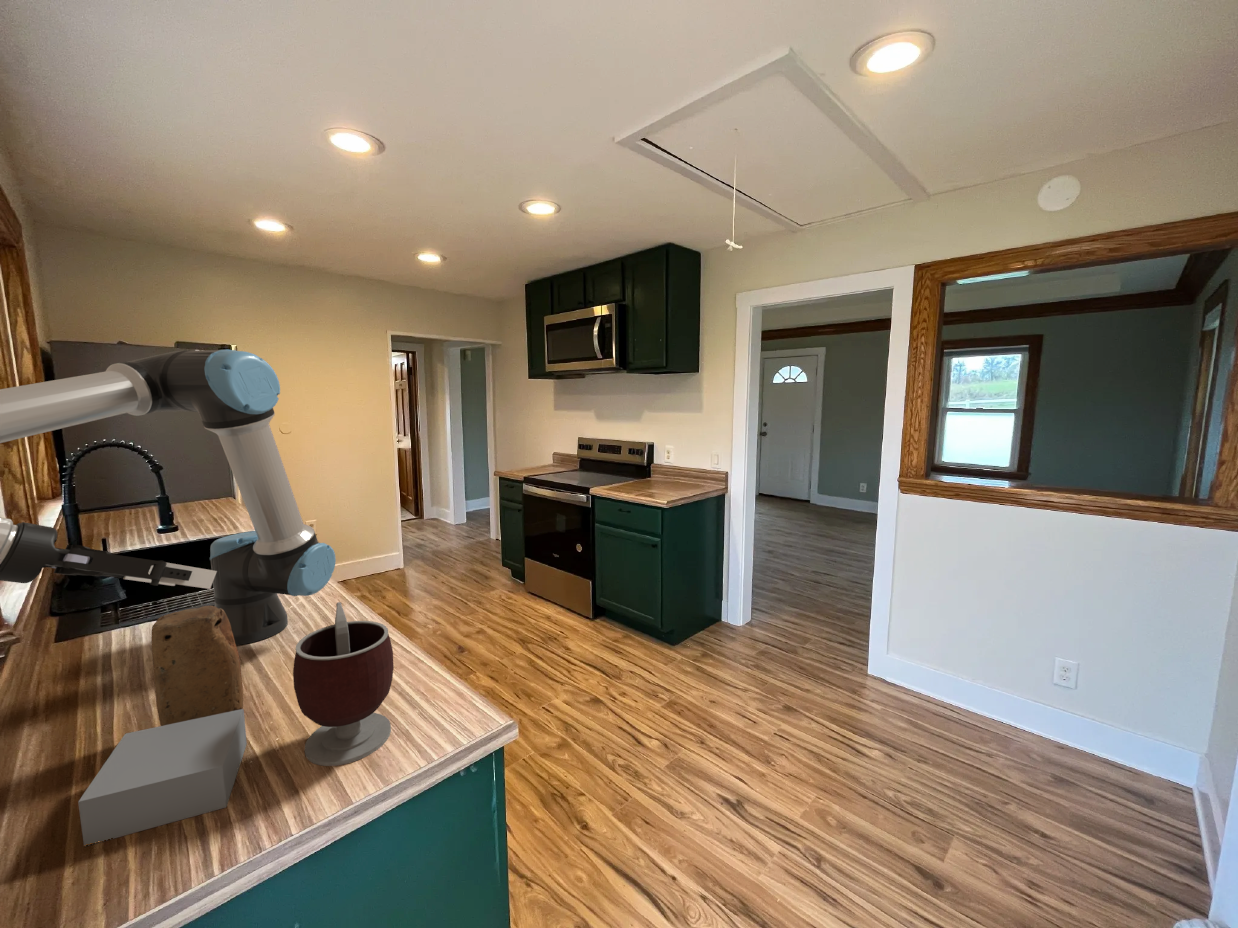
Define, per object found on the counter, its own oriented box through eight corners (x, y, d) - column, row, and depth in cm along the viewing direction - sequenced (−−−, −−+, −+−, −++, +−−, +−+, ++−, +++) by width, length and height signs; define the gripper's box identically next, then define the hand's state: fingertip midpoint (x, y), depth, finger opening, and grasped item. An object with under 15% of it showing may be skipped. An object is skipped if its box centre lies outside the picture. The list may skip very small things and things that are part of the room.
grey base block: (129, 771, 75) (125, 733, 74) (246, 743, 81) (243, 708, 80) (84, 846, 62) (78, 801, 62) (226, 807, 69) (222, 765, 68)
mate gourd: (403, 748, 81) (398, 627, 78) (299, 782, 73) (289, 650, 71) (387, 699, 94) (383, 594, 91) (298, 724, 86) (290, 610, 84)
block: (159, 753, 79) (145, 629, 76) (162, 728, 85) (150, 612, 82) (246, 726, 85) (236, 611, 83) (243, 704, 91) (234, 596, 89)
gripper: (-34, 576, 71) (154, 599, 88) (8, 581, 58) (219, 606, 75) (-5, 523, 74) (172, 555, 90) (42, 517, 61) (238, 555, 77)
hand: (194, 578), depth 82 cm, fingers open, 13 cm apart
